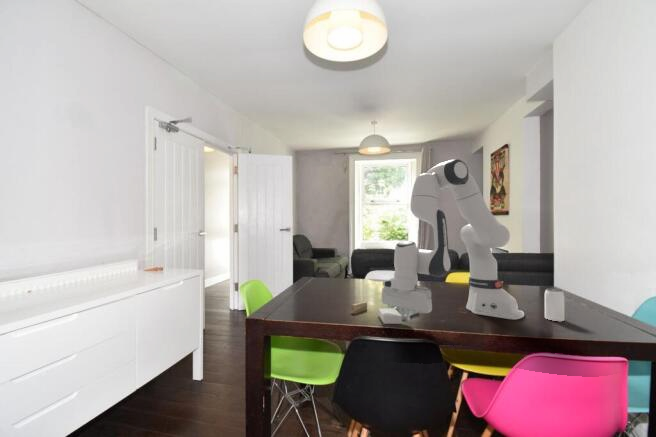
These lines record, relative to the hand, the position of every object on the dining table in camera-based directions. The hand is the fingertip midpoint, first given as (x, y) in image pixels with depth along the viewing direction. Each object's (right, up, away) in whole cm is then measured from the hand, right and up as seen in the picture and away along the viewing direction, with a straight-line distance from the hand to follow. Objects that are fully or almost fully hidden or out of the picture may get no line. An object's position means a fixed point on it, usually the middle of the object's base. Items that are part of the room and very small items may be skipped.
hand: (405, 319), depth 119 cm
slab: (-5, -2, +5) cm, 8 cm away
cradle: (+3, -2, +14) cm, 14 cm away
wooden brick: (-16, -2, +17) cm, 23 cm away
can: (+62, -2, +6) cm, 62 cm away
